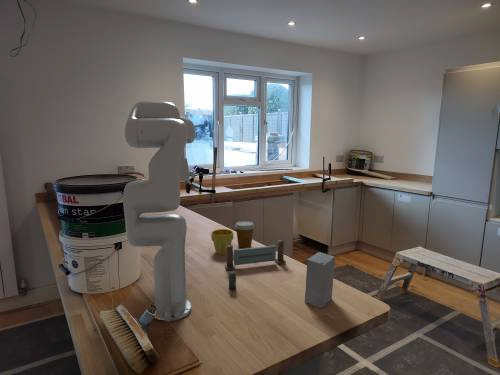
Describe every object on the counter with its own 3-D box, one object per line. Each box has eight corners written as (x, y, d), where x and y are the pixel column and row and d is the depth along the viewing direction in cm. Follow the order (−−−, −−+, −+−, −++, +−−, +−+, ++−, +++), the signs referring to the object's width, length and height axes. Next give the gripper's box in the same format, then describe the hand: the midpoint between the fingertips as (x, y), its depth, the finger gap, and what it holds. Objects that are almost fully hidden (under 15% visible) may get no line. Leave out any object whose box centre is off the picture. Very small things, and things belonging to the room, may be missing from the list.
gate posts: (229, 290, 117) (229, 264, 115) (219, 268, 136) (218, 245, 134) (302, 280, 125) (303, 255, 123) (282, 260, 144) (283, 239, 142)
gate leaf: (235, 265, 135) (234, 250, 134) (234, 264, 136) (233, 249, 135) (275, 260, 140) (275, 246, 139) (274, 259, 141) (274, 244, 140)
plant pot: (219, 257, 147) (219, 237, 146) (207, 251, 155) (207, 231, 153) (237, 252, 154) (237, 232, 152) (225, 246, 162) (225, 227, 160)
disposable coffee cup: (256, 244, 165) (256, 221, 163) (251, 250, 156) (251, 226, 154) (238, 242, 167) (238, 220, 165) (232, 249, 158) (232, 225, 156)
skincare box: (315, 293, 115) (317, 250, 112) (334, 299, 110) (336, 255, 108) (303, 303, 108) (304, 257, 106) (322, 310, 104) (324, 263, 101)
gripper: (157, 156, 131) (159, 197, 134) (198, 154, 139) (199, 193, 142) (152, 155, 137) (154, 194, 140) (192, 153, 146) (193, 191, 148)
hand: (177, 194), depth 141 cm, fingers open, 9 cm apart
